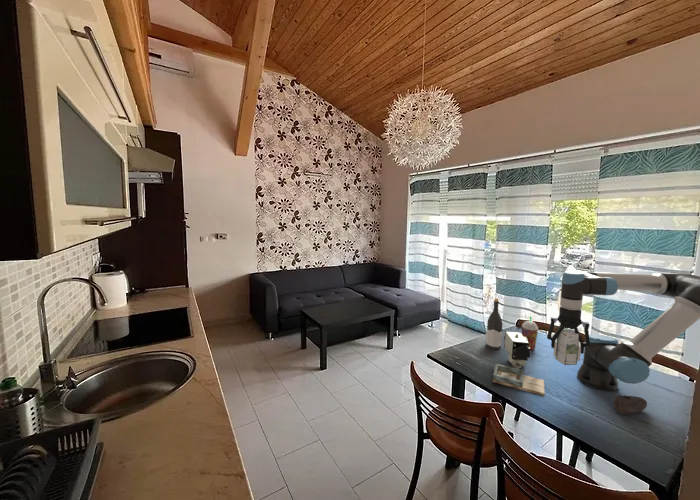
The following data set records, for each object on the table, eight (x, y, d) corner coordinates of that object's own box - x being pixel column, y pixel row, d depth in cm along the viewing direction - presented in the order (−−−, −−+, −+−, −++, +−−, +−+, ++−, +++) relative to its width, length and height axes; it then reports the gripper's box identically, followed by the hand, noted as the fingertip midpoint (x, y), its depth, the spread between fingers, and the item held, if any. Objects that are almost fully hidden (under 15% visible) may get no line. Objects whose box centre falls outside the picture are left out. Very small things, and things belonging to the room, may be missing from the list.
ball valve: (531, 375, 149) (534, 341, 147) (512, 373, 151) (515, 340, 149) (518, 358, 167) (521, 327, 164) (502, 356, 168) (504, 326, 166)
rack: (543, 382, 143) (544, 375, 143) (544, 396, 133) (545, 388, 132) (495, 370, 154) (496, 363, 154) (492, 381, 144) (493, 374, 143)
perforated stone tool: (639, 406, 126) (641, 391, 125) (652, 415, 121) (655, 399, 120) (606, 409, 124) (608, 393, 123) (619, 417, 119) (621, 401, 118)
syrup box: (567, 358, 135) (569, 327, 133) (577, 365, 129) (580, 333, 127) (554, 358, 134) (557, 328, 132) (564, 365, 128) (567, 333, 127)
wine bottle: (501, 345, 182) (504, 298, 178) (499, 350, 175) (503, 301, 171) (487, 342, 186) (490, 296, 182) (485, 347, 180) (488, 299, 176)
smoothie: (516, 346, 181) (519, 314, 178) (527, 344, 183) (530, 313, 180) (528, 352, 173) (531, 319, 170) (539, 350, 175) (542, 318, 173)
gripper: (599, 308, 126) (594, 359, 129) (542, 301, 137) (538, 348, 140) (603, 314, 120) (597, 367, 123) (542, 306, 131) (538, 355, 134)
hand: (566, 357), depth 131 cm, fingers closed on syrup box, 8 cm apart
